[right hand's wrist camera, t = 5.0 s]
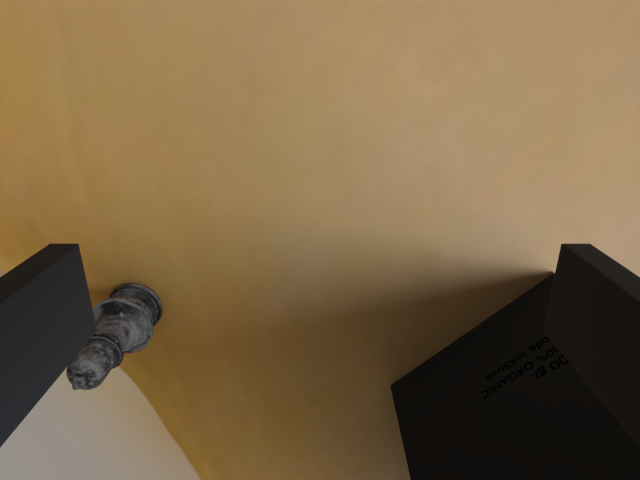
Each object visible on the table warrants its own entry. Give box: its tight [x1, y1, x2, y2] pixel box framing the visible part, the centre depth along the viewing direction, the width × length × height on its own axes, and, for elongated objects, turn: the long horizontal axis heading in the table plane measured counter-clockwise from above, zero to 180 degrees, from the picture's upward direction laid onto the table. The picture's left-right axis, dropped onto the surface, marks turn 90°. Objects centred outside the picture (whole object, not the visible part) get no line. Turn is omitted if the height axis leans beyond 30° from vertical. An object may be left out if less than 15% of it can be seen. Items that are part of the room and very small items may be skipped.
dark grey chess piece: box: [67, 283, 162, 390], centre depth 39 cm, size 6×6×12 cm
